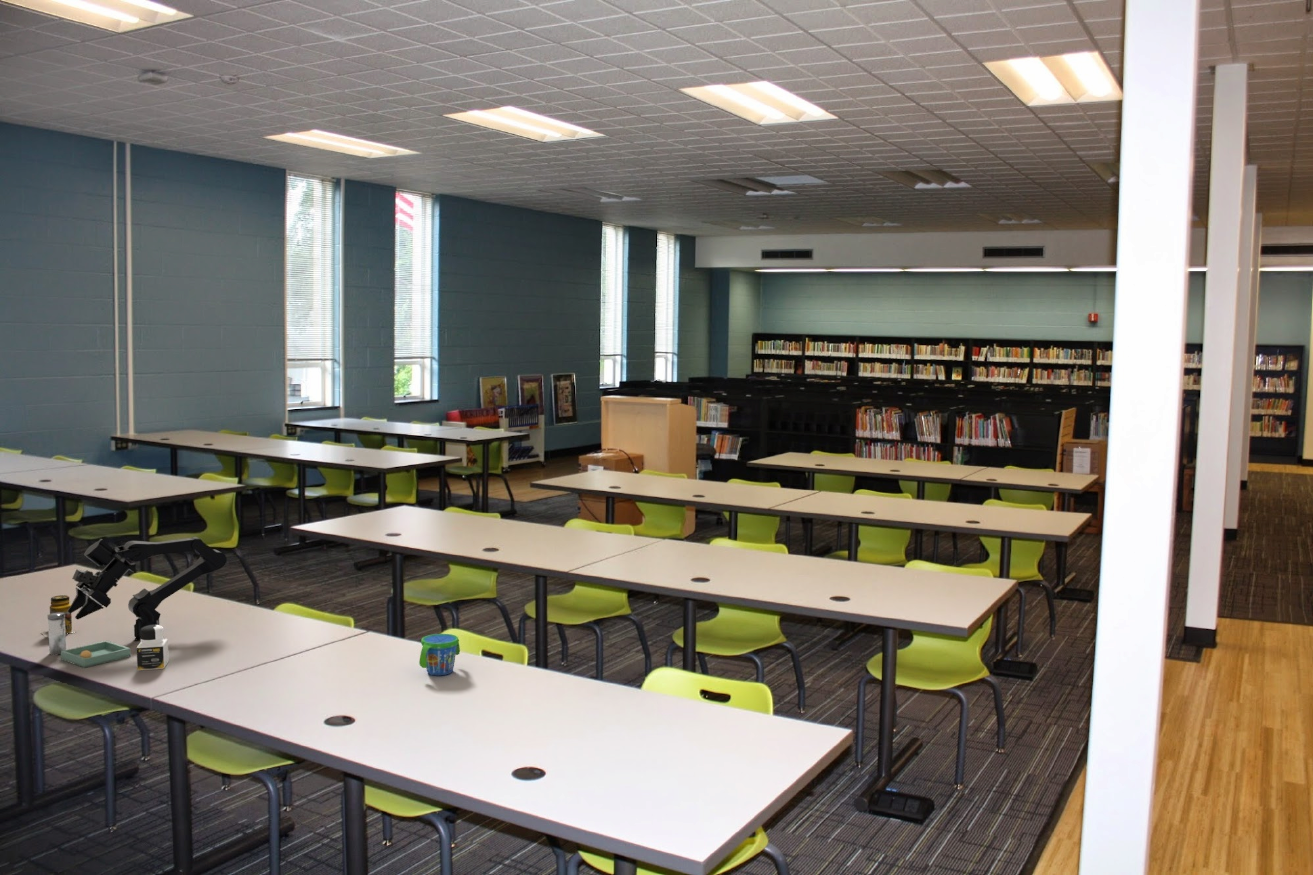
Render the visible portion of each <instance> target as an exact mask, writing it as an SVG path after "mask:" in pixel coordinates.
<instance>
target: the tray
mask: <svg viewBox="0 0 1313 875" xmlns="http://www.w3.org/2000/svg"><path fill="white" fill-rule="evenodd" d="M85 650H88V651H90V652H91V654H92V656H91V657H89V658H83V657H80V654H81V653H82V652H83V651H85ZM131 656H132V654H131V648H130V647H128V646H124V645H121V644H118V643H115V642H112V641H109V640H103V641H99V642H94V643H91V644H87V645H82V646H77V647H74V648H69V649H66V650H64V651H61V655H60V658H61V659H63V660H62V661H64V660H66V661H65V662H67V661H69V662H68V663H70V662H72V663H74V664H73V665H75V664H77V665H76V666H78V665H79V667H81V666H82V667H81V668H83V667H84V669H85V668H89V666H90V667H94V666H97V665H102V664H105V663H110V662H114V661H118V660H122V659H125V658H131ZM61 659H60V660H61ZM72 663H71V664H72Z"/></svg>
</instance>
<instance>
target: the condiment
mask: <svg viewBox="0 0 1313 875" xmlns="http://www.w3.org/2000/svg"><path fill="white" fill-rule="evenodd" d="M70 602H71V601H70V596H69V595H67V594H64V595H61V594H60V595H55V596H52V597H50V606H49V614H52V613H65V634H66V635H68V634H67V633H71V632H72V630H73V621H72V617H73V616H72V613H69V612H68V610H69V608H70V606H71V604H72V603H70ZM40 633H41V635H43V637H45V638H49V630H48V631H41V632H40ZM72 633H73V632H72ZM73 634H76V631H74V633H73Z"/></svg>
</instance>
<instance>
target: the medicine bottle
mask: <svg viewBox="0 0 1313 875" xmlns="http://www.w3.org/2000/svg"><path fill="white" fill-rule="evenodd" d="M140 634H141V640H140V642H139V644H138V645H137V647H136V664H137V667H136V669H137V671H149V670H150V671H151V670H164V668H166V667H167V664H168V662H169V640H168V638H164V627H163V626H162V625H160V624H159V625H148V626H145V627H143V628H141V630H140Z"/></svg>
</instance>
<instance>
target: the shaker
mask: <svg viewBox="0 0 1313 875" xmlns="http://www.w3.org/2000/svg"><path fill="white" fill-rule="evenodd" d="M47 626H48V627H47V628H48V631H49V637H48V646H49V649H48V650H49V655H50V654H51V656H59V655H58V654H61V651H64V650H67V639H66V638H67V637H66V636H67V634H65V613H52V614H50V613H49V614H47Z"/></svg>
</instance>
